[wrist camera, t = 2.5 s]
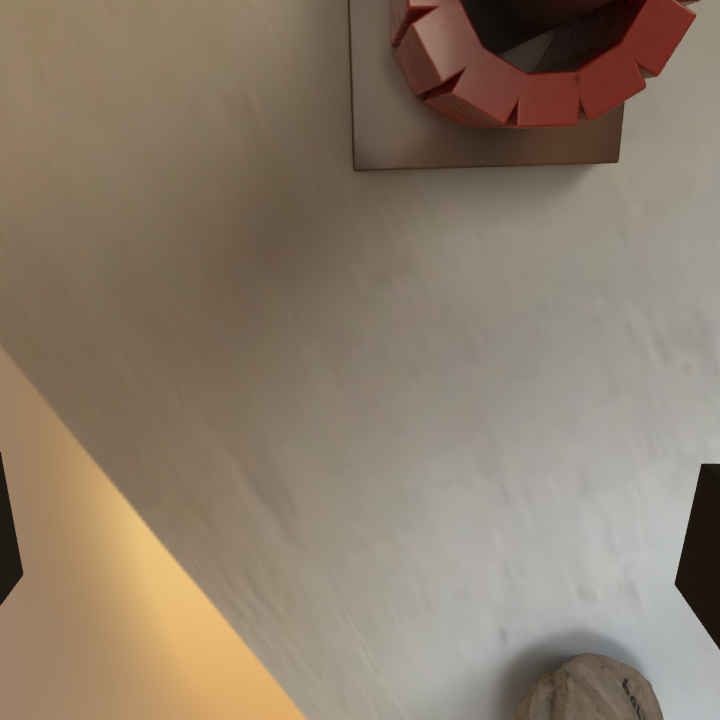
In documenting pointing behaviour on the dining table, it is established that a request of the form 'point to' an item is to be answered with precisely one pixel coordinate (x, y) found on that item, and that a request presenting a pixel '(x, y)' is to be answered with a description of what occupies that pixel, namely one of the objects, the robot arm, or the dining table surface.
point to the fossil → (590, 693)
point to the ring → (552, 75)
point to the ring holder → (442, 136)
